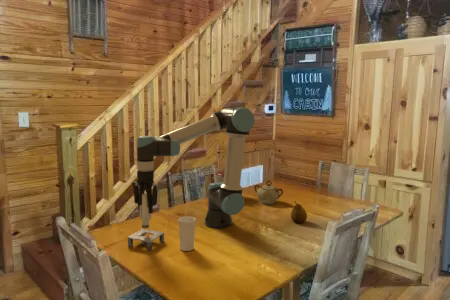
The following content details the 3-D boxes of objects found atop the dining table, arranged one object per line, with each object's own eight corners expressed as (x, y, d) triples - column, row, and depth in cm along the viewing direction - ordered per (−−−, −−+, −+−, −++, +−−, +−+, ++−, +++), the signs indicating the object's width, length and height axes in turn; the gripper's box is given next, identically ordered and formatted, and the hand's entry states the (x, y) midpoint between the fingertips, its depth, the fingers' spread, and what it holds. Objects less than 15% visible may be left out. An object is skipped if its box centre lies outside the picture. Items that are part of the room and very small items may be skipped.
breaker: (151, 239, 174) (151, 235, 174) (147, 241, 171) (147, 238, 171) (145, 237, 176) (145, 234, 175) (140, 240, 172) (140, 237, 172)
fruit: (309, 221, 209) (310, 201, 207) (300, 225, 202) (302, 204, 200) (296, 218, 215) (297, 198, 213) (287, 221, 208) (288, 201, 206)
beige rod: (150, 226, 173) (150, 193, 171) (146, 228, 170) (146, 195, 168) (144, 225, 174) (144, 192, 172) (140, 227, 171) (140, 194, 169)
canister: (240, 201, 245) (241, 170, 242) (213, 200, 246) (213, 170, 242) (239, 194, 263) (240, 165, 260) (214, 193, 263) (214, 164, 260)
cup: (188, 254, 164) (188, 223, 161) (174, 249, 168) (174, 219, 166) (199, 247, 170) (199, 218, 168) (185, 243, 175) (185, 215, 172)
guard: (164, 241, 177) (164, 232, 176) (150, 251, 166) (149, 241, 165) (143, 237, 181) (142, 228, 181) (128, 246, 170) (127, 236, 170)
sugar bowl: (285, 201, 247) (286, 180, 245) (278, 207, 234) (279, 184, 232) (257, 197, 255) (258, 176, 253) (249, 203, 242) (250, 181, 240)
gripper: (165, 170, 169) (164, 219, 172) (135, 166, 175) (135, 214, 178) (156, 173, 162) (155, 224, 165) (125, 169, 168) (126, 218, 171)
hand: (145, 218), depth 172 cm, fingers closed on beige rod, 3 cm apart
